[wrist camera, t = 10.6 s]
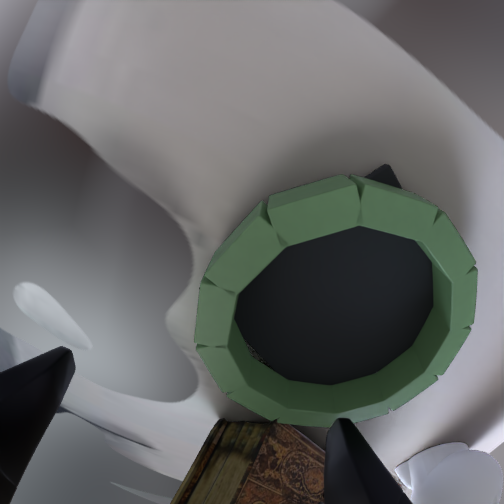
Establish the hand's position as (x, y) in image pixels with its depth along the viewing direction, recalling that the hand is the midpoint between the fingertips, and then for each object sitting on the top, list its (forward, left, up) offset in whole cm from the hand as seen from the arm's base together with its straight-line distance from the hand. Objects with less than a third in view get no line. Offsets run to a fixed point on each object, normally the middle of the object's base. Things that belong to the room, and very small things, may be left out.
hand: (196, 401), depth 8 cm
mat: (+4, -5, -8) cm, 10 cm away
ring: (+4, -5, -7) cm, 9 cm away
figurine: (+5, -32, -8) cm, 33 cm away
